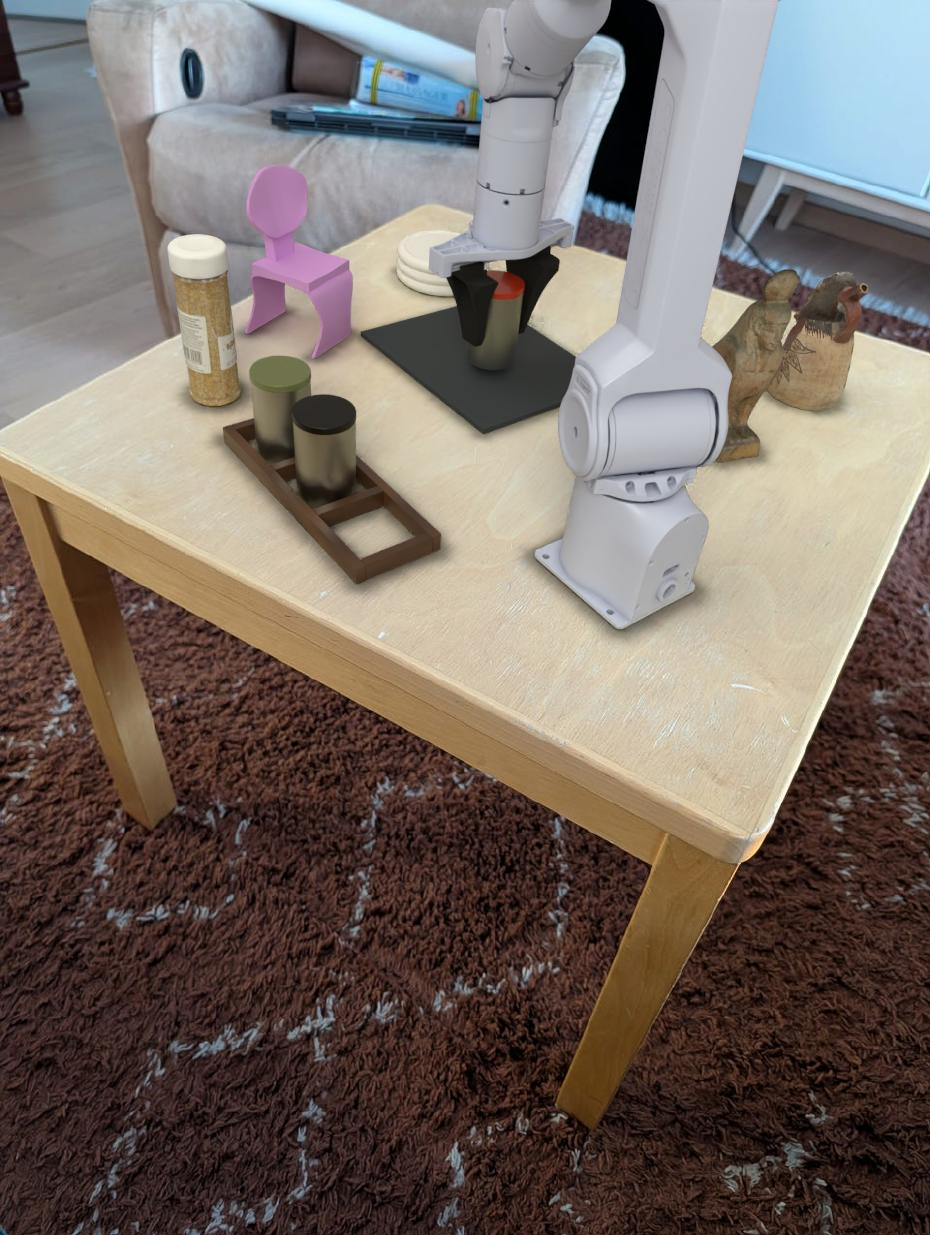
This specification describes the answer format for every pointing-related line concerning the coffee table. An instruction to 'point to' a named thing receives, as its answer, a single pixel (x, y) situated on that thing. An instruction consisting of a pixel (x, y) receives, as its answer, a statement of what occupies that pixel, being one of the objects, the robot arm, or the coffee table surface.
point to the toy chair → (294, 259)
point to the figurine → (820, 345)
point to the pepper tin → (324, 448)
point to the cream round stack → (423, 262)
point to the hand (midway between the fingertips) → (493, 335)
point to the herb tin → (277, 403)
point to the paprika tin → (500, 324)
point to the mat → (476, 369)
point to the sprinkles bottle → (205, 317)
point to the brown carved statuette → (754, 360)
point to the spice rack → (339, 509)
